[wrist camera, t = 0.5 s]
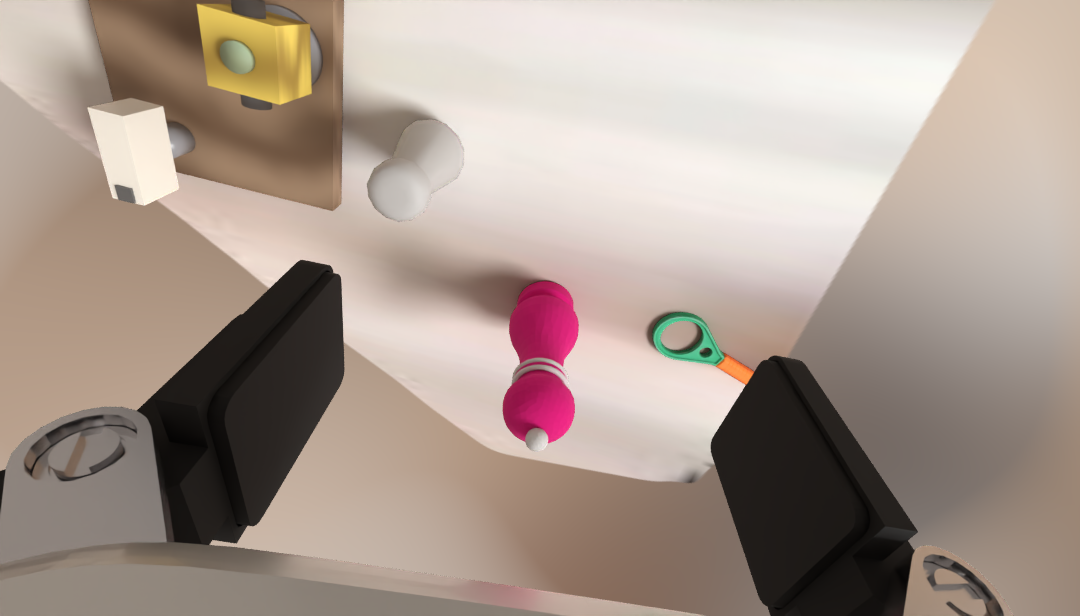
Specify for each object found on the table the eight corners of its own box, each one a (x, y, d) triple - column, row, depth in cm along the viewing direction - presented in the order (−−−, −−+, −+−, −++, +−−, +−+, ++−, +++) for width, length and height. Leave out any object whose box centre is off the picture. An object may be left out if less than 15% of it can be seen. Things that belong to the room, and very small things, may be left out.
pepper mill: (503, 316, 52) (474, 461, 36) (529, 266, 49) (510, 402, 32) (560, 338, 54) (558, 488, 37) (589, 292, 50) (601, 435, 33)
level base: (55, -242, 29) (-109, -322, 22) (345, -146, 31) (280, -191, 24) (144, 153, 44) (62, 183, 37) (341, 203, 46) (299, 240, 38)
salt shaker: (393, 146, 42) (334, 194, 31) (431, 99, 40) (381, 134, 29) (443, 190, 44) (403, 250, 34) (481, 148, 42) (453, 198, 31)
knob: (156, 91, 38) (83, 107, 33) (188, 100, 39) (121, 117, 33) (172, 171, 42) (109, 198, 36) (201, 179, 42) (143, 206, 37)
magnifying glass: (640, 336, 54) (642, 345, 52) (675, 300, 51) (678, 309, 49) (734, 391, 58) (739, 400, 56) (772, 360, 55) (777, 370, 53)
